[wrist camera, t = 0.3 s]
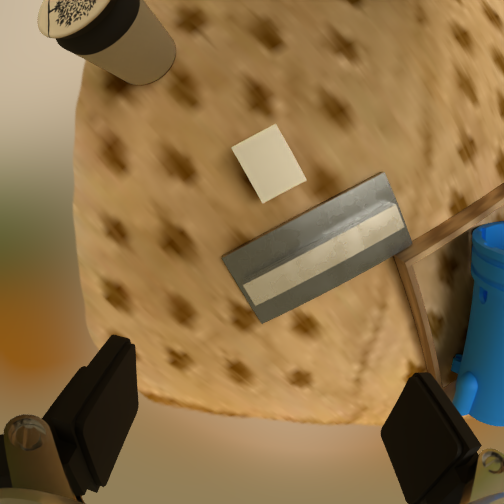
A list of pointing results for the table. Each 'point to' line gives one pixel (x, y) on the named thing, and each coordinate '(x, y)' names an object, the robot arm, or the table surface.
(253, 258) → the rail board
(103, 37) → the travel mug
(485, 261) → the tube
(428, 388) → the robot arm
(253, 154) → the block
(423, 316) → the brown wooden tray
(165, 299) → the table surface
